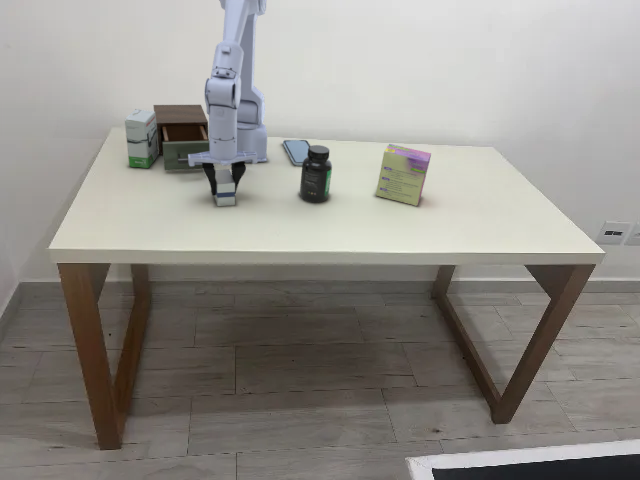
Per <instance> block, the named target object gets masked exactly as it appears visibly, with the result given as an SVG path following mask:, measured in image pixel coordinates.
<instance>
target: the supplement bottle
mask: <svg viewBox="0 0 640 480" xmlns="http://www.w3.org/2000/svg"><path fill="white" fill-rule="evenodd" d="M307 156H308V157H307V158H305V159H304V161H303V163H302V166H301V173H300V174H301V175H300V185H299V196H300V197H301V199H303V200H304V201H306V202H309V203H314V204H317V203H318V204H319V203H323V202H325V201H327V200H328V198H329V196H330V195H329V194H330V188H331V178H332V170H333V163H332V161H331V159H330V148H329V147H328V146H325V145H321V144H313V145H310V147H309V148H308V153H307Z"/></svg>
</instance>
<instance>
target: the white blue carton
mask: <svg viewBox="0 0 640 480" xmlns="http://www.w3.org/2000/svg"><path fill="white" fill-rule="evenodd" d="M215 171H216V174H215V188H216V195H214V196H213V197H214V199H215V202H216V206H217V207H227V206H228V207H229V206H235V205H236V194H235V182H234V179H233V177H232V171H231V170H230V168H228V169H226V168H225V169H215Z"/></svg>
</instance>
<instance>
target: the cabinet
mask: <svg viewBox="0 0 640 480" xmlns="http://www.w3.org/2000/svg"><path fill="white" fill-rule="evenodd" d="M153 111H154V112H155V115H156V130H157V143H158V156H163V145H162V142H163V132H162V126H179V125H203V128H204V131H205V133H206V136H207V139H208V140H209V120H208V118H207V116H206V114H205V112H204V108H203V106H202V104H153Z"/></svg>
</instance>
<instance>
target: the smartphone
mask: <svg viewBox="0 0 640 480" xmlns="http://www.w3.org/2000/svg"><path fill="white" fill-rule="evenodd" d="M282 145H283V146H284V149H285V151H286V152H287V154H288V157H289V158H290V160H291V162H292V165H294V166H297V167H298V166H299V167H300V166H301V167H302V163H303V161H304V159H305V158H307V157H308V156H307V153H308V148H309V147H310V146H311V144H310V142H309V141H308V140H307V139H284V140H283V141H282Z"/></svg>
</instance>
